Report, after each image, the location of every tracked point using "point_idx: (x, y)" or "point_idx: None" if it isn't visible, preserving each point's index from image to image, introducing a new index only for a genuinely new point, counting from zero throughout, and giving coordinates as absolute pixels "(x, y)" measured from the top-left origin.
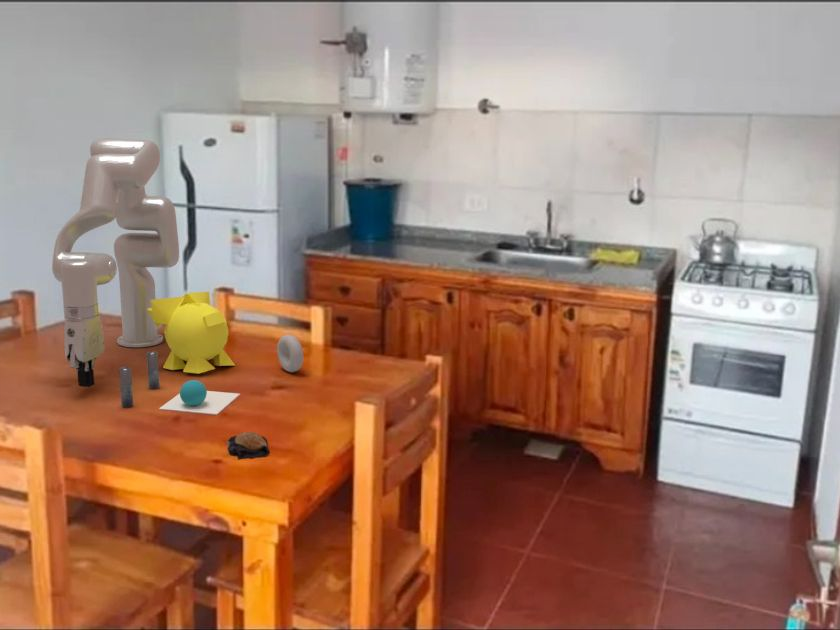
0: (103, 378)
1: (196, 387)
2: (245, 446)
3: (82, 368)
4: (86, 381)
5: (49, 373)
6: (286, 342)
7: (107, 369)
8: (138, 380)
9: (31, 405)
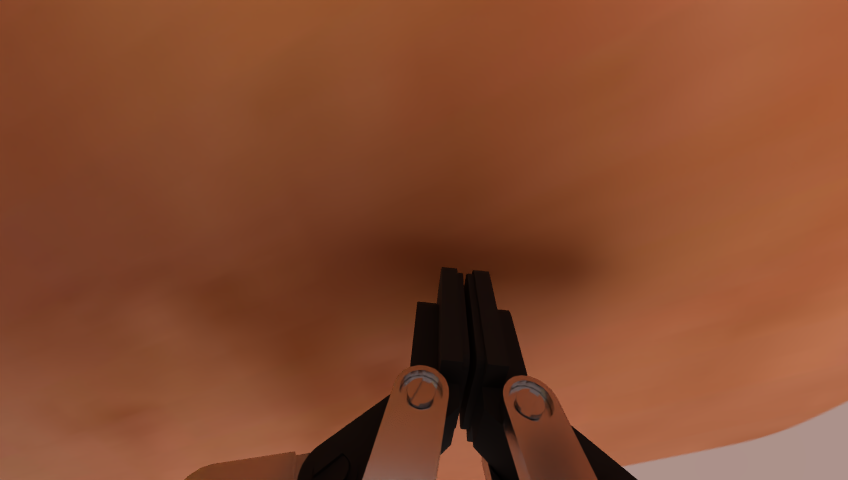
0: (225, 278)
1: None
2: None
3: (590, 447)
4: (501, 317)
5: None
6: None
7: (97, 311)
8: (124, 21)
9: (666, 407)
